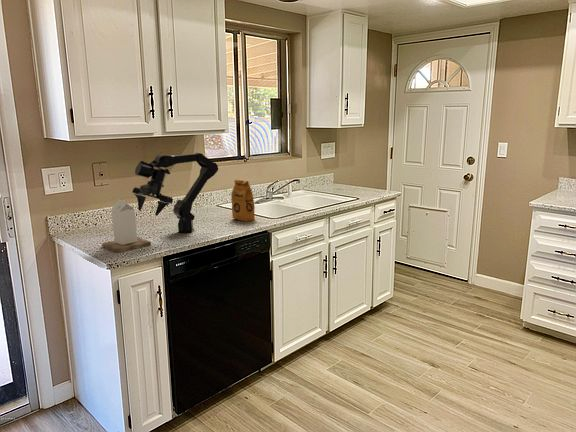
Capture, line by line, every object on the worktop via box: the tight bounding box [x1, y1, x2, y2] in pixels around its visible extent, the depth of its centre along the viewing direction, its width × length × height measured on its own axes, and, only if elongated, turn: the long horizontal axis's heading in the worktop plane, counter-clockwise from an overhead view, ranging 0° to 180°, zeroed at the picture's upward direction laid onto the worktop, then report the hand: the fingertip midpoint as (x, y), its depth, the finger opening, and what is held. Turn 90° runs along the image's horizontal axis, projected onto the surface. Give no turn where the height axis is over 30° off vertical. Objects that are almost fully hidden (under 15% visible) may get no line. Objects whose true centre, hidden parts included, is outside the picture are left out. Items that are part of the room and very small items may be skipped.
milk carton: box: [111, 199, 138, 245], centre depth 191 cm, size 7×7×19 cm
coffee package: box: [230, 179, 255, 223], centre depth 238 cm, size 10×12×22 cm
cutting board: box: [101, 236, 152, 254], centre depth 193 cm, size 16×14×2 cm
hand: (147, 213), depth 202 cm, fingers open, 9 cm apart
